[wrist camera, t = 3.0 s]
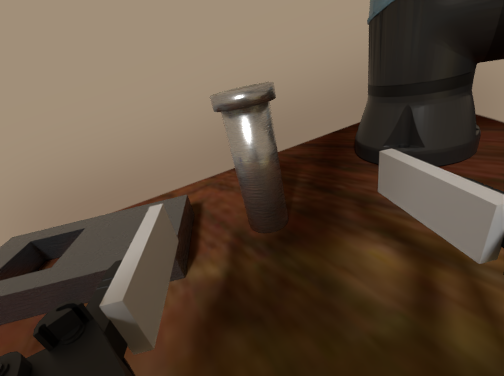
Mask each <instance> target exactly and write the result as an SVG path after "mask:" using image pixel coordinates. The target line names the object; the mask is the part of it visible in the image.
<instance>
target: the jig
mask: <svg viewBox="0 0 504 376" xmlns="http://www.w3.org/2000/svg"><path fill="white" fill-rule="evenodd" d="M159 204H163V205H164V207H165V210H166V212H167V214H168V217H169V219H170V221H171V224H172V226H173V228H174V231H175V233H176V235H177V238H178V240H179V242H178V246H177V250H176V255H175V259H174V264H173V268H172V272H171V277H170V281H174V280H178V279H181V278H185V272H186V266H187V259H188V253H189V246H190V240H191V233H192V227H193V220H194V212H193V209H192V206H191V204H190V201H189V198H188V196H187V195H184V196H180V197H176V198H172V199H167V200H163V201H159V202H155V203H151V204H147V205H143V206H139V207H135V208H131V209H126V210H122V211H118V212H114V213H110V214H106V215H102V216H98V217H94V218H90V219H86V220H81V221H77V222H73V223H69V224H65V225H61V226H57V227H53V228H49V229H45V230H41V231H37V232H32V233H29V234H25V235H20V236H16V237H12V238H11V239H10V240H9V241H7V242H6V243H5V244H4V245H2V246H1V247H0V325H2V324H6V323H10V322H13V321H17V320H21V319H25V318H29V317H33V316H37V315H41V314H45V313H49V312H50V311H51V310H52V309H54V308H55V307H57V306H59V305H61V304H62V303H64V302H67V301H71V300H79V301H81V302H82V303H83V304H84V303H88V302H89V301H90V299H91V297H92V296H93V294H94V292H95V290H97V287H98V285H99V283H100V282H101V280H102V278H103V276H104V274H105V273H106V271H107V270H108V269H109V268H110V267H111V266H112V265H113V264H114V262H115V261H119V260H123V258H124V256H125V254H126V252H127V251H128V249H129V247H130V245H131V243H132V241H133V239H134V237H135V235H136V233H137V231H138V229H139V227H140V225H141V223H142V221H143V219H144V217H145V215H146V213H147V211H148V209H149V207H150V206H154V205H159ZM58 257H60V259H59V260H58V261H57V262H56V263H55V264H54V266H53V267H52V268H49V269H45V270H41V271H37V269H38V268H39V267H40V266H41V265H42V264H43V263H44V262H45V261H46V260H50V259H54V258H58ZM36 271H37V272H36ZM170 281H169V282H170Z"/></svg>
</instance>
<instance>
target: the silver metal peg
mask: <svg viewBox="0 0 504 376" xmlns="http://www.w3.org/2000/svg"><path fill="white" fill-rule="evenodd" d="M275 98H276V97H275V89H274V83H273V82H266V83H259V84H254V85H249V86H244V87H240V88H235V89H231V90H227V91H224V92H220V93H217V94H214V95H212V96H210V99H211V103H212V106H213V110H214V112H221V114H222V118H223V122H224V126H225V129H226V134H227V137H228V142H229V145H230V149H231V153H232V157H233V161H234V165H235V169H236V173H237V177H238V181H239V185H240V189H241V193H242V197H243V201H244V205H245V209H246V213H247V217H248V221H249V224H250V227H251V229H252V230H254V231H256V232H259V233H271V232H275V231H278V230H280V229H281V228H283V227H284V226H285V225H286V224H287V222H288V214H287V208H286V202H285V195H284V189H283V183H282V177H281V171H280V164H279V158H278V152H277V146H276V140H275V133H274V127H273V121H272V115H271V109H270V102H269V101H271V100H273V99H275Z"/></svg>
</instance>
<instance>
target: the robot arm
mask: <svg viewBox="0 0 504 376" xmlns="http://www.w3.org/2000/svg"><path fill="white" fill-rule="evenodd" d="M367 22H368V25H369V71H368V74H369V75H368V101H367V104H366V107H365V110H364V113H363V116H362V119H361V122H360V125H359V128H358V131H357V134H356V137H355V151H356V154H357V155H358V156H359V157H361V158H363V159H365V160H367V161H370V162H373V163H376V164H379V176H378V192H379V193H381V194H382V195H383V196H385V197H386V198H388V199H389V200H390V201H392V202H393V203H395V204H396V205H397V206H399V207H400V208H402V209H403V210H404V211H406V212H407V213H409V214H410V215H411V216H413V217H414V218H416V219H417V220H418V221H420V222H421V223H423V224H424V225H425V226H427V227H428V228H430V229H431V230H432V231H434V232H435V233H437V234H438V235H439V236H441V237H442V238H444V239H445V240H446V241H448V242H449V243H451V244H452V245H453V246H455V247H456V248H458V249H459V250H460V251H462V252H463V253H465V254H466V255H467V256H469V257H470V258H472V259H473V260H474V261H476V262H477V263H479V264H481V263H485V262H488V261H492V260H496V259H497V258H498V255H499V253H500V250H501V247H503V248H504V192H503V191H500V190H498V189H493V187H490V186H488V185H484V184H483V183H480V182H478V181H475V180H473V179H469V178H465V177H460V176H458V175H455V174H453V173H450V172H448V171H445V170H443V169H441V168H438V167H436V166H442V165H448V164H452V163H456V162H460V161H463V160H465V159H468V158H469V157H471V156H473V155H474V154H475V153H476V151H477V148H478V144H479V140H480V129H479V126H478V125H476V117H475V107H474V101H473V95H472V84H473V79H474V74H475V69H476V65H477V63H480V62H487V61H493V60H500V59H504V0H370V11H369V18H368V20H367ZM178 242H179V240H178V238H177V235H176V233H175V231H174V228H173V226H172V224H171V221H170V219H169V217H168V214H167V212H166V210H165V207H164V205H163V204H159V205H154V206H150V207H149V209H148V211H147V213H146V215H145V217H144V219H143V221H142V223H141V225H140V227H139V229H138V231H137V233H136V235H135V237H134V239H133V241H132V243H131V245H130V247H129V249H128V251H127V252H126V254H125V256H124V258H123V260H119V261H115V262H114V264H113V265H112V266H111V267H110V268H109V269H108V270H107V271H106V273H105V274H104V276H103V278H102V280H101V282H100V283H99V285H98V287H97V290H95V292H94V294H93V296H92V297H91V299H90V301H89V303H88V305H87V306H86V307H85V306H84V304H83V303H82V302H81V301H79V300H71V301H67V302H64V303H62V304H61V305H59V306H57V307H55V308H54V309H52V310H51V311H50V312H49V313H47V314H46V315H45V316H44V317H43V318H42V319H41V320H40V321H39V323H38V324H37V326H36V327H35V329H34V334H33V336H34V337H35V338H36V339H37V340H38V341H39V342H40V343H41V344H42V345H43V346H44V347H45V348H46V349H44V350H42V351H40V352H38V353H36V354H34V355H32V356H30V357H28V358H25V357H24V356H23V355H22V354H20V353H18V352H10V353H7V354H5V355H3V356H1V357H0V376H135V374H134V372H133V371H132V369H131V367H130V365H129V364H128V362H127V361H126V359H125V358H124V354H125V351H126V348H127V346H128V347H129V348H130V350H131V351H132V352H133V354H138V353H142V352H145V351H149V350H153V349H154V347H155V343H156V338H157V334H158V330H159V325H160V321H161V316H162V312H163V308H164V303H165V299H166V294H167V290H168V286H169V281H170V277H171V272H172V268H173V264H174V259H175V255H176V250H177V246H178ZM503 275H504V274H503Z"/></svg>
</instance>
